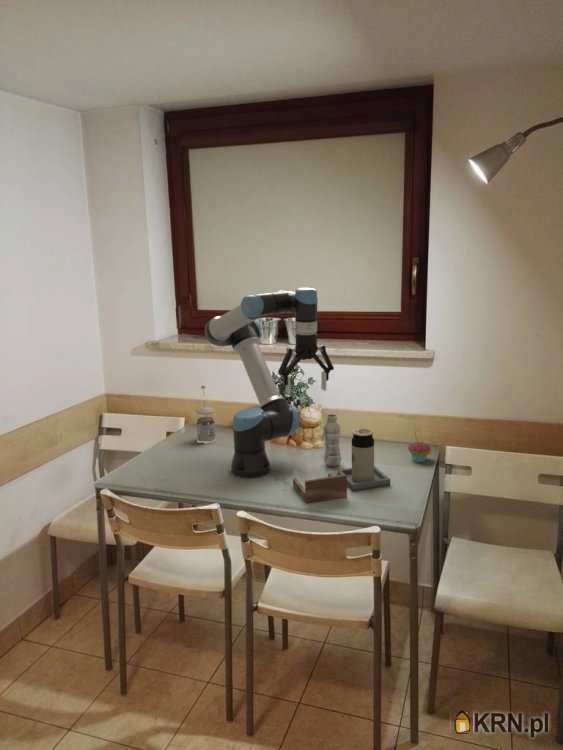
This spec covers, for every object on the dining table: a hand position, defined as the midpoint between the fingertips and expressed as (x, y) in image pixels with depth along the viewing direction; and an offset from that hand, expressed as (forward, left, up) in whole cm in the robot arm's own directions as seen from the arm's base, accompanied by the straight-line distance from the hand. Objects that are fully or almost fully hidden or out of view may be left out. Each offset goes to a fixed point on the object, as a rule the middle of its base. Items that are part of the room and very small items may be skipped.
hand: (306, 391), depth 219 cm
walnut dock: (+14, -1, -33) cm, 36 cm away
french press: (-55, -29, -33) cm, 70 cm away
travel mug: (+10, +17, -32) cm, 38 cm away
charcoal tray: (+10, +17, -33) cm, 38 cm away
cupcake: (-1, +46, -33) cm, 57 cm away
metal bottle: (-8, +12, -33) cm, 36 cm away
